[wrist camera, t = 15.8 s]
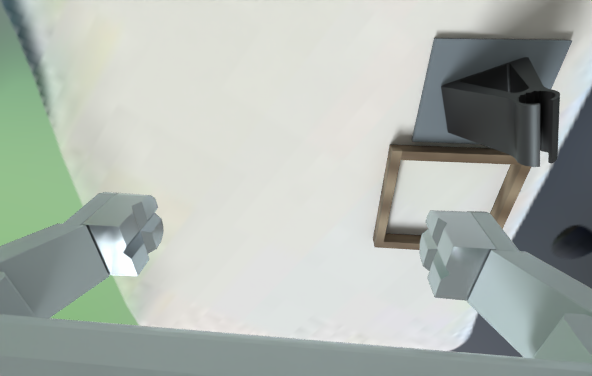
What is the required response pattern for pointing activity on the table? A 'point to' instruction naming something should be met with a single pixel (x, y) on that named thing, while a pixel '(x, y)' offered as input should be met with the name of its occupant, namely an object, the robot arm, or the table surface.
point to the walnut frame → (444, 154)
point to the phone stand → (505, 111)
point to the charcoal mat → (473, 59)
